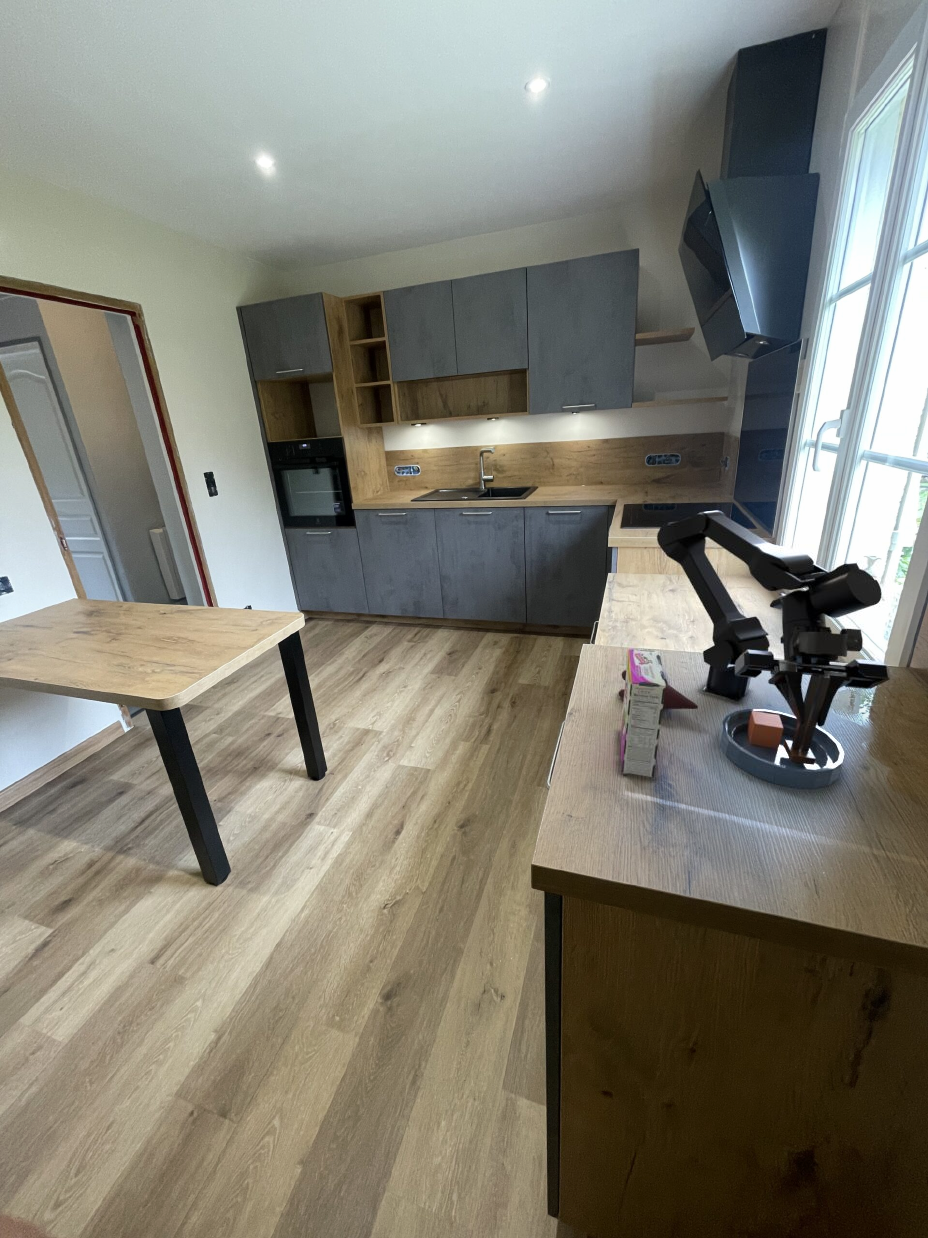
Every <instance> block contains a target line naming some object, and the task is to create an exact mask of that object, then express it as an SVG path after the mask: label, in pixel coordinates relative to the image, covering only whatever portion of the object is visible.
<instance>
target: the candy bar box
mask: <svg viewBox="0 0 928 1238" xmlns="http://www.w3.org/2000/svg"><path fill="white" fill-rule="evenodd" d="M627 651H628V652H627V663H626V669H625V670H626V681H625V680H624V682H625V683H624V689H625V692H624V699H623V704H622V713H621V714H622V715H621V726H620V753H621V754H620V756H621V757H620V758H621V759H620V760H621V774H623V775H629V774H633V775H639V776H643V777H644V776H645V777H650V778H654V776H655V771H656V763H657V755H658V748H659V740H660V732H661V725H662V717H663V710H664V709H663V702H664V695H665V688H666V684H665V679H664V678H665V673H664V668H663V664H662V659H661V652H660V651H657V650H656V651H655V650H646V649H645V650H643V649H636V648H635V649H634V648H632V649H630V648H629V649H628V650H627Z"/></svg>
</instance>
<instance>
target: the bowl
mask: <svg viewBox="0 0 928 1238" xmlns="http://www.w3.org/2000/svg"><path fill="white" fill-rule="evenodd" d="M751 711H756V712H763V713H769V714H775V715H779V717H780V719H781V722H782V725H783V728H784V729H783V733H782V736H781V740H780V744H779V748H778V749H775V748H770V747H764V746H759V745H753V744H750V741H749V736H748V732H747V729H748V725H749V720H750V716H751ZM797 724H798V720H797V719H796V717H795V715H793V714H790V713H789V714H788V713H786V712H781V711H778V710H777V711H776V710H771V709H760V708H759V709H758V708H747V709H740V710H736V711H733V712H731V713H728V714H727V715H726V716H725V717H724V719H723V720H722V721H721V725H720V730H719V734H718V742H719V748H720V749H721V751H722V753H723V754H724V756H725V757H726V758H727V759H728V760H730V761H731V762H732V763H733V764H734V765H736V767H738V768H740V769H741V770H743V771H744V772H746V773H748V774H750V775H751V776H754V777H756V778H759V779H761V780H764V781H766V782H769V783H771V784H774V785H780V786H782V787H783V786H784V787H787V788H788V787H789V788H793V789H808V790H809V789H811V790H812V789H819V788H823V787H828V786H829V785H831V784H833V783H834V782H836V781H837V780H838V778H839V775H840V772H841V769H842V766H843V763H844V759H845V756H846V755H845V754H846V753H845V752H844V749H843V746H842V745H841V743H840V742H839V741H838V740H837V739H836V738H835V737H834V736H833V735H832V734H831V733H829V732H828V731H826V730H825V729H824V728H821V726H818V724H817V725H816V728H815V731H814V735H813V738H812V742H811V745H810V750H811V751H812V753H813V755H814V757H815V758H816V759H815V763H814V765H810V764H803V763H796V762H791V760H790V758H789V756H788V754H787V752H786V750H785V748H784V746H783V745H784V742H785V740H789V741H793V739H794V735H795V732H796V728H797Z"/></svg>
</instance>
